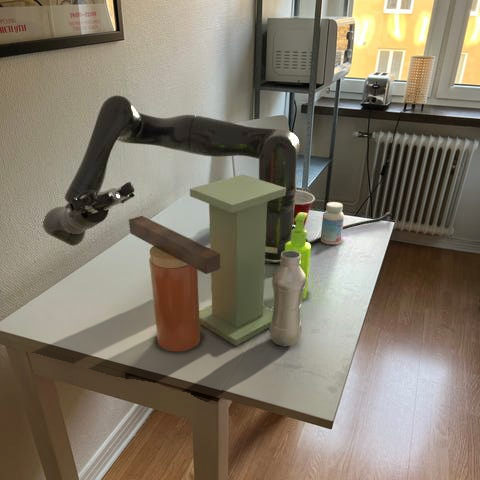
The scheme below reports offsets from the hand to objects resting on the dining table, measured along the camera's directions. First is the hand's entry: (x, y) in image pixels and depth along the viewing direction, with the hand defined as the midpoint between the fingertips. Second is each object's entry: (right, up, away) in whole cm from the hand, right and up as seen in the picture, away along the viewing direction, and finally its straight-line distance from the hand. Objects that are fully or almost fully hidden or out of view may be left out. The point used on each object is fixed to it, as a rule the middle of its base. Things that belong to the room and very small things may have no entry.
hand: (113, 191), depth 101 cm
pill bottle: (+53, -3, +46) cm, 70 cm away
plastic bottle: (+35, -31, +3) cm, 47 cm away
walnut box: (+13, -13, -8) cm, 21 cm away
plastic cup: (+43, 0, +51) cm, 67 cm away
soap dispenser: (+39, -20, +19) cm, 48 cm away
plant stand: (+25, -27, +9) cm, 38 cm away
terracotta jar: (+13, -30, +3) cm, 33 cm away
